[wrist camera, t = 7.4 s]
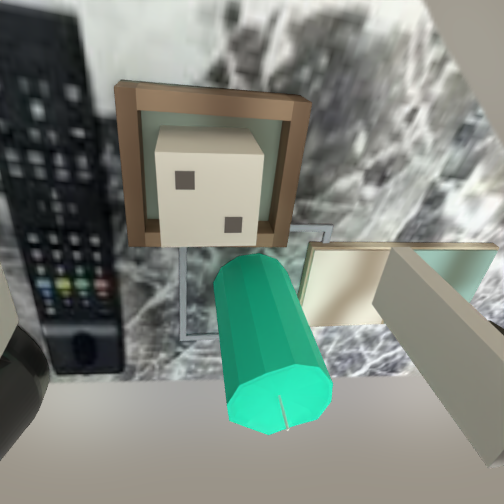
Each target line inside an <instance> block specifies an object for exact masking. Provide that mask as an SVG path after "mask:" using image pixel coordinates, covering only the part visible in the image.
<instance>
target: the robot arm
mask: <svg viewBox="0 0 504 504" xmlns="http://www.w3.org/2000/svg"><path fill="white" fill-rule="evenodd" d="M372 305H373V307H374V308H375V309H376V311H377V312H378V314H379V315H380V317H381V318H382V319H383V321H384V322H385V324H386V325H387V326H388V328H389V329H390V331H391V332H392V333H393V335H394V336H395V338H396V339H397V341H398V342H399V343H400V345H401V346H402V348H403V349H404V350H405V352H406V353H407V355H408V356H409V357H410V359H411V360H412V362H413V363H414V364H415V366H416V367H417V369H418V370H419V372H420V373H421V374H422V376H423V377H424V379H425V380H426V381H427V383H428V384H429V386H430V387H431V388H432V390H433V391H434V392H435V394H436V395H437V397H438V398H439V400H440V401H441V403H442V404H443V405H444V407H445V408H446V410H447V411H448V412H449V414H450V415H451V417H452V418H453V420H454V421H455V422H456V424H457V425H458V427H459V428H460V429H461V431H462V432H463V434H464V435H465V436H466V438H467V439H468V441H469V442H470V443H471V445H472V446H473V448H474V449H475V450H476V452H477V453H478V455H479V456H480V458H481V459H482V460H483V462H484V463H485V465H486V466H487V467H488V468H494V467H500V466H504V329H503V328H502V327H500V326H498V325H497V324H495V323H493V322H492V321H488V320H487V319H486V318H485V317H483V316H482V315H481V314H480V313H479V312H478V311H477V310H476V309H475V308H474V307H473V306H472V305H471V304H470V303H469V302H468V301H467V300H465V299H464V298H463V297H462V296H461V295H460V294H459V293H458V292H457V291H456V290H455V289H454V288H453V287H452V286H451V285H450V284H449V283H447V282H446V281H445V280H444V279H443V278H442V277H441V276H440V275H439V274H438V273H437V272H436V271H435V270H434V269H433V268H432V267H431V266H429V265H428V264H427V263H426V262H425V261H424V260H423V259H422V258H421V257H420V256H419V255H418V254H417V253H416V252H415V251H414V250H413V249H411V248H410V247H391V250H390V253H389V256H388V259H387V261H386V264H385V267H384V270H383V273H382V276H381V278H380V281H379V284H378V287H377V290H376V293H375V296H374V298H373V301H372ZM18 322H19V319H18V316H17V312H16V309H15V306H14V303H13V300H12V297H11V294H10V290H9V287H8V284H7V281H6V278H5V275H4V272H3V268H2V265H1V262H0V461H1V459H2V458H3V457H4V456H5V454H6V453H7V452H8V451H9V449H10V448H11V447H12V446H13V444H14V443H15V442H16V440H17V439H18V438H19V437H20V436H21V434H22V433H23V432H24V430H25V429H26V428H27V427H28V426H29V425H30V423H31V422H32V421H33V419H34V418H35V416H36V414H37V412H38V411H39V408H40V406H41V403H42V400H43V398H44V395H45V392H46V390H47V387H48V383H49V368H48V364H47V361H46V359H45V357H44V355H43V353H42V351H41V350H40V348H39V347H38V346H37V344H36V343H35V342H34V341H33V340H32V339H31V338H30V337H29V336H28V335H27V334H26V333H25V332H24V331H22V330H21V329H20V328H18V327H17V324H18Z"/></svg>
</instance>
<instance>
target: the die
mask: <svg viewBox="0 0 504 504" xmlns="http://www.w3.org/2000/svg"><path fill="white" fill-rule="evenodd" d="M155 164H156V178H157V193H158V207H159V221H160V235H161V247H211V246H256V239H257V228H258V217H259V207H260V196H261V185H262V174H263V164H264V153H263V152H262V150H261V148H260V147H259V145H258V143H257V142H256V140H255V138H254V137H253V135H252V133H251V132H250V130H249V128H225V127H199V126H172V125H161V126H160V130H159V135H158V139H157V144H156V148H155Z"/></svg>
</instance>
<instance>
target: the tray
mask: <svg viewBox="0 0 504 504" xmlns="http://www.w3.org/2000/svg"><path fill="white" fill-rule="evenodd" d="M114 94H115V105H116V116H117V127H118V137H119V148H120V159H121V169H122V180H123V191H124V202H125V212H126V223H127V234H128V244H129V247H161V235H160V221H159V207H158V193H157V178H156V164H155V148H156V144H157V139H158V135H159V130H160V126H161V125H172V126H199V127H225V128H249V130H250V132H251V133H252V135H253V137H254V138H255V140H256V142H257V143H258V145H259V147H260V148H261V150H262V152H263V153H264V164H263V174H262V185H261V196H260V207H259V217H258V228H257V239H256V246H211V247H287V242H288V237H289V231H290V225H291V220H292V214H293V208H294V203H295V197H296V191H297V186H298V180H299V175H300V169H301V163H302V158H303V152H304V146H305V141H306V135H307V129H308V124H309V118H310V112H311V107H312V102H310V101H309V100H307V99H305V98H304V97H302V96H301V95H293V94H281V93H270V92H258V91H247V90H235V89H223V88H212V87H200V86H188V85H177V84H165V83H153V82H142V81H130V80H120V81H119V82H118V83H117V84H116V85H115V86H114Z"/></svg>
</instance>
